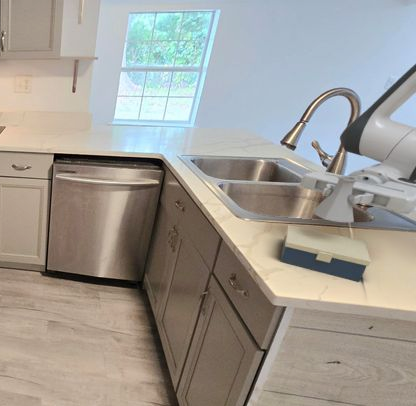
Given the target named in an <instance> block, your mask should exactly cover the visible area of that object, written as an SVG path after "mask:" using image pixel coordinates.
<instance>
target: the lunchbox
mask: <svg viewBox="0 0 416 406" xmlns="http://www.w3.org/2000/svg"><path fill="white" fill-rule="evenodd" d="M281 246H282V248H281V254H280V255H281V256H280V262H281V263H285V264H288V265H292V266H296V267H300V268H303V269H307V270H311V271H315V272H319V273H323V274H326V275H330V276H335V277H339V278H343V279H346V280H350V281H354V282H357V283H360V281H361V279H362V277H363V275H364V273H365V271H366V268H367V267H369V266H370V264H371V258H370V255H369V252H368V247H367V244H366V241H365V240H362V239H356V238H352V237H347V236H342V235H338V234H333V233H328V232H323V231H318V230H314V229H309V228H305V227H299V226H296V225H295V226H294V225H291V224H288V225H287V228H286V232H285V236H284V239H283V242H282V245H281Z"/></svg>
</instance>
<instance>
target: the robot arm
mask: <svg viewBox="0 0 416 406" xmlns="http://www.w3.org/2000/svg"><path fill="white" fill-rule="evenodd" d="M415 94H416V63H414V64H413V65H412V66H411V67H410V68H409V69H408V70H407V71H406V72H405V73H403V74H402V75H401V76H400V77H399V78H398V79H397V80H396V81H395V82H394V83H393V84H392V85H391V86H390V87H389V88H388V89H387V90H386V91H384V93H382V95H381V96H380V97H378V99H376V100H375V102H373V103H372V104H371V105H370V107H368V108H367V109H366V110H365V111H364V112H362V113H361V114H360V115H359V116H358V117H356V118H355V119H354V120H353V121H352V122H350V123H349V124H348V125H347V126H346V127H345V128H344V129H343V131H342V132H341V134H340V135H339V141H340V144H341V146H342V148H343V150H344V151H345V152H347V153H349V154H350V153H351V154H354V155H357V156H361V157H365V158H368V159H371V160H373V161H376V162H379V163H375V164H372V165H370V166H367V167H364V168H360V169H357V170H354V171H351V172H350V173H349V174H347V175H346V176H352V177H355V178H357V179H358V180H357V182H355V183H354V185H353V188H352V195H350V196H349V199H348V200H347V201H348V202H349V203H352V205H357V204H360V205H367V206H372V207H375V208H380V209H383V210H387V211H391V212H394V213H397V214H403V215H409V214H411V213H413V212H414V210H415V208H416V127H414V126H411V125H408V124H405V123H402V122H398V121H395V120H392V119H391V118H390V117H392V115H393V114H394V113H395V112H397V110H399V108H401V107H402V106H403V105H404V104H405V103H406V102H408V100H409V99H410V98H412V96H414V95H415ZM341 175H342V174H338V173H333V172H330V171H329V172H327V171H322V170H321V171H312V172H307V173H304V174H303V175H302V178H301V181H300V187H301V188H302V189H305V190H306V189H307V190H311V191H314V192H319V193H321V196H323V197H329V196H330V194H331V193H332V191H333V189H334V188H335V186H336V185H337V183H338V180H339V179H338V176H341Z"/></svg>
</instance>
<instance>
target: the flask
mask: <svg viewBox="0 0 416 406" xmlns="http://www.w3.org/2000/svg"><path fill="white" fill-rule="evenodd" d="M340 175H341V176H338V179H339V180H338V183H337V185H336V186H335V188H334V189H333V191H332V193H331V194H330V196H329V197H327V196H325V198H324V199H323V200H322V201H321V202H320V203H319V204H318V205H317V206H316V207H315V208H314V209H313V215H315V216H317V217H319V218H321V219H323V220H325V221H332V222H337V223H355V219H354V210H353V203H349V202H348V201H347V200H348V199H349V196H350V195H352V188H353V185H354V183H355V182H357V180H358V179H357V178H355V177H352V176H347V175H342V174H340Z"/></svg>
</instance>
